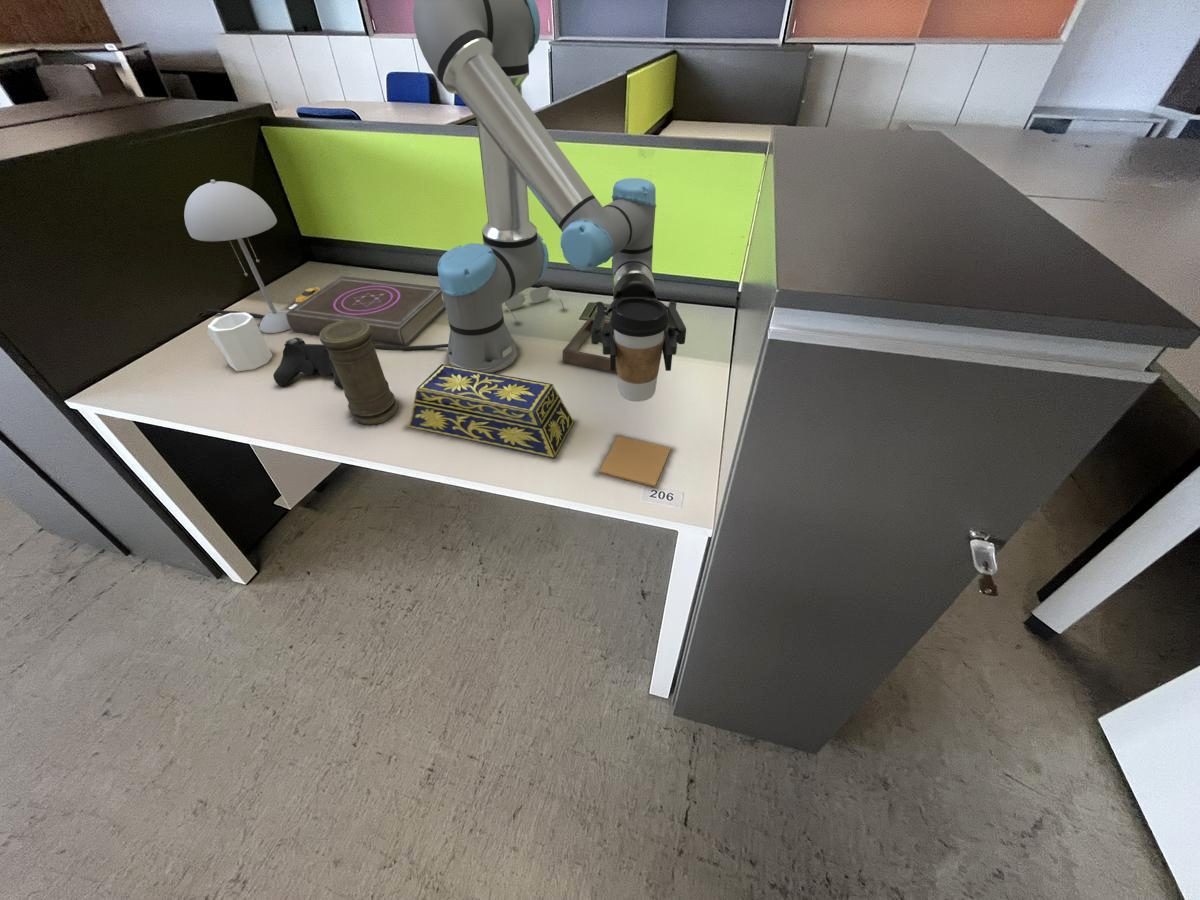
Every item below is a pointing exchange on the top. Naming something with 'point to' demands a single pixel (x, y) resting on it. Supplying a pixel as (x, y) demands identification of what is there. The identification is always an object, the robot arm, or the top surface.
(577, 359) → the wooden square frame
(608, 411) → the top surface
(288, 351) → the game controller
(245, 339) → the mug
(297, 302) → the toy car
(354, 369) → the container
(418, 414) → the decorative box
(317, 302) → the book
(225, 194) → the lamp
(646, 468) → the coaster
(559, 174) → the robot arm
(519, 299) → the eyeglasses
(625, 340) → the coffee cup
